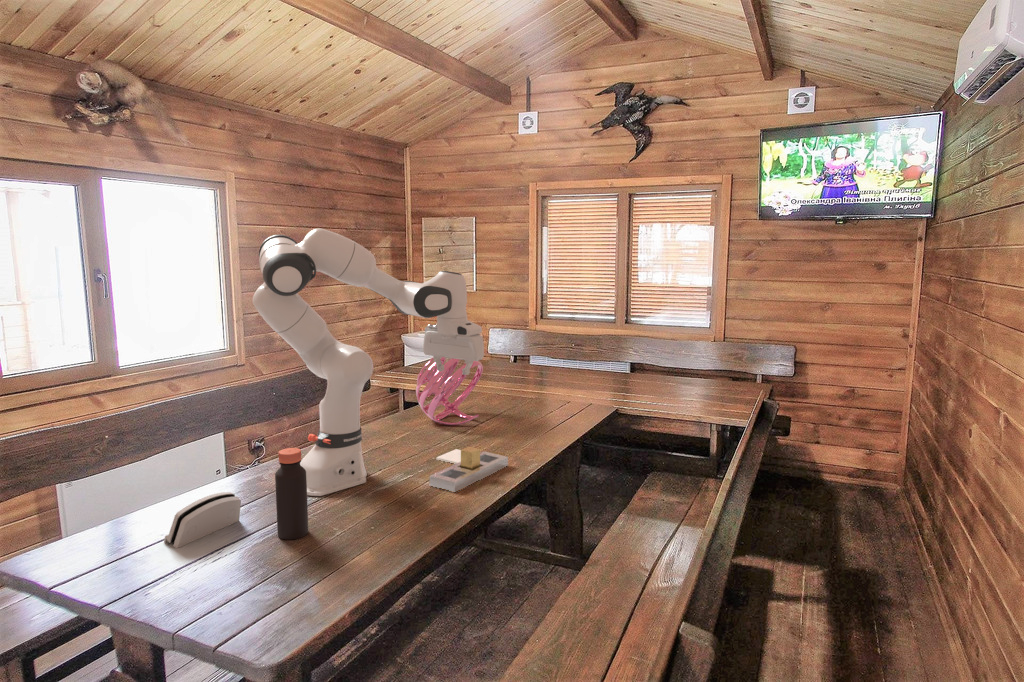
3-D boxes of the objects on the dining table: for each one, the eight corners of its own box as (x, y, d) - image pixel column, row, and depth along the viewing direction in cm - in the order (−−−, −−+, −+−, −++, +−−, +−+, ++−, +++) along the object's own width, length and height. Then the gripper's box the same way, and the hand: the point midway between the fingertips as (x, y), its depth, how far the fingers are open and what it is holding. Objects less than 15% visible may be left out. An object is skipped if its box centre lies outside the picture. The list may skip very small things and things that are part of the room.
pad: (461, 466, 197) (461, 463, 197) (436, 459, 203) (436, 457, 203) (481, 457, 206) (481, 454, 206) (456, 451, 211) (456, 449, 211)
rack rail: (454, 493, 176) (454, 482, 176) (429, 485, 181) (429, 475, 181) (507, 466, 198) (507, 456, 197) (483, 460, 203) (483, 451, 202)
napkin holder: (226, 516, 160) (233, 482, 157) (238, 526, 158) (246, 492, 155) (162, 543, 145) (169, 506, 142) (175, 554, 143) (182, 517, 140)
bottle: (297, 525, 155) (294, 444, 152) (314, 533, 151) (311, 450, 148) (271, 534, 150) (268, 451, 147) (288, 543, 146) (284, 458, 143)
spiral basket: (514, 371, 243) (462, 327, 250) (470, 403, 222) (413, 354, 229) (488, 418, 260) (439, 376, 267) (444, 452, 239) (392, 405, 246)
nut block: (471, 479, 187) (471, 452, 185) (460, 476, 189) (460, 450, 188) (479, 475, 190) (480, 448, 189) (468, 472, 192) (469, 446, 191)
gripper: (417, 325, 193) (419, 370, 195) (474, 330, 182) (474, 378, 184) (431, 322, 198) (432, 367, 200) (486, 327, 187) (487, 374, 189)
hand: (453, 372), depth 192 cm, fingers open, 8 cm apart
